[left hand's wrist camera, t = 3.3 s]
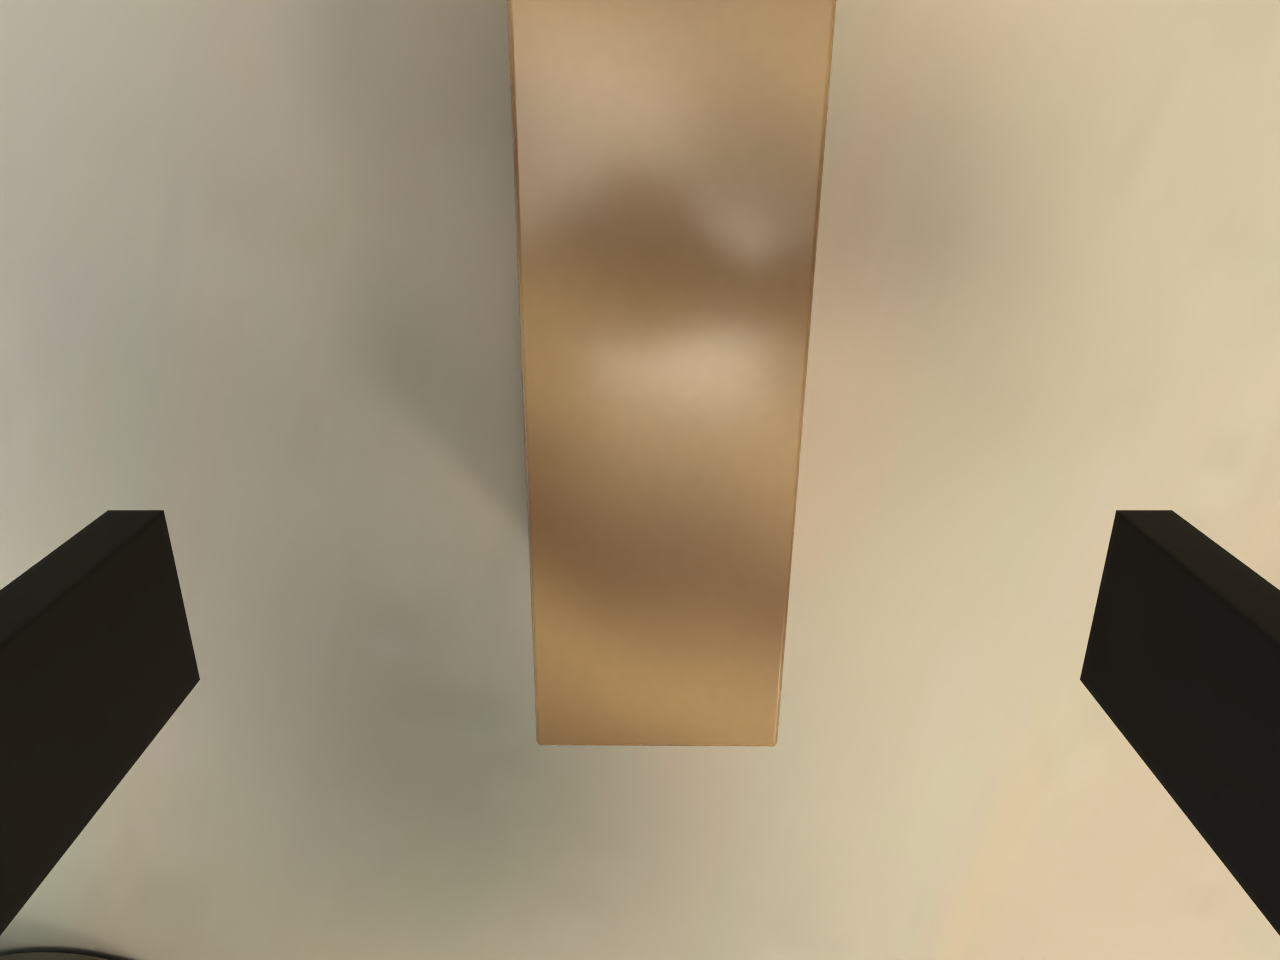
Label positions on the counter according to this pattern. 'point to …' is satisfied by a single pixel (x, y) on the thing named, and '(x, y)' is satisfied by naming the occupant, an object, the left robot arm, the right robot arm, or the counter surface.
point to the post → (664, 353)
